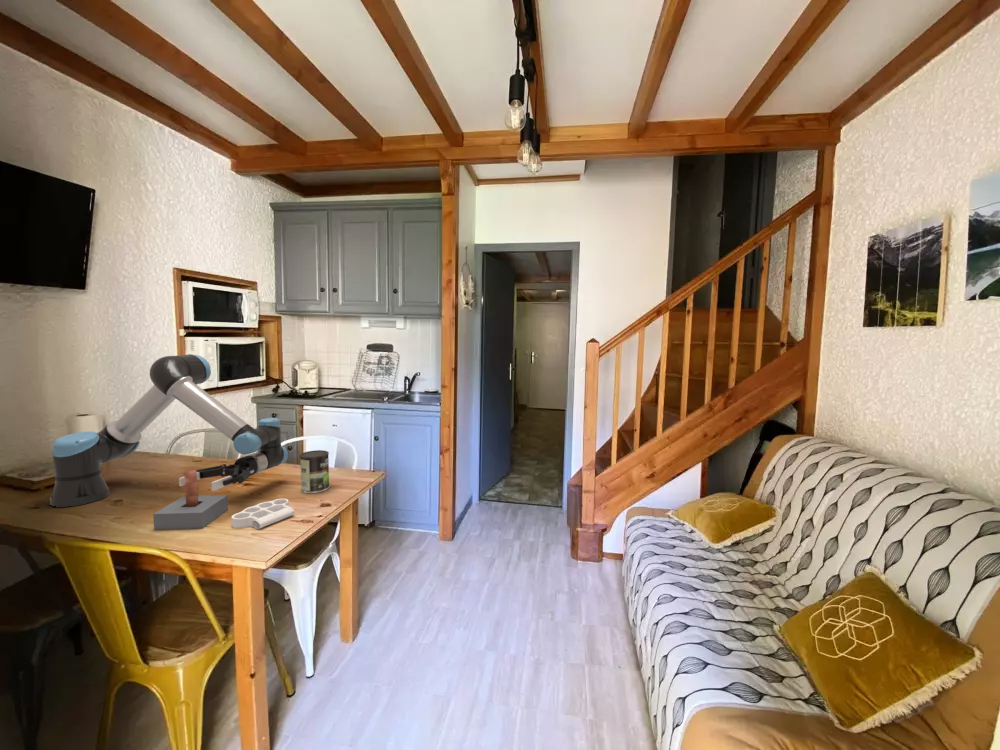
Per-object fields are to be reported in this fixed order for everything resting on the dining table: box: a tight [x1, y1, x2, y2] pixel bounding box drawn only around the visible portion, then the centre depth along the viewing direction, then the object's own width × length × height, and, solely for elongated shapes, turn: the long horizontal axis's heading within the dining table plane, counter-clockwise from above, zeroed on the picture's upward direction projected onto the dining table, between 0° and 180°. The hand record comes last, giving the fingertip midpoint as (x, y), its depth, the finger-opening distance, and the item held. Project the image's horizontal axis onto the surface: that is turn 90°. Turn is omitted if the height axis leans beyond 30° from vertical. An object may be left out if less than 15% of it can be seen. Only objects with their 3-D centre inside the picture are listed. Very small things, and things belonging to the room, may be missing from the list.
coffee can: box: [299, 449, 330, 494], centre depth 162 cm, size 10×10×14 cm
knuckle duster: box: [231, 498, 296, 530], centre depth 136 cm, size 3×18×15 cm
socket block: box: [152, 494, 229, 531], centre depth 134 cm, size 14×14×5 cm
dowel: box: [183, 469, 199, 507], centre depth 134 cm, size 3×3×16 cm
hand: (195, 484), depth 135 cm, fingers open, 13 cm apart
